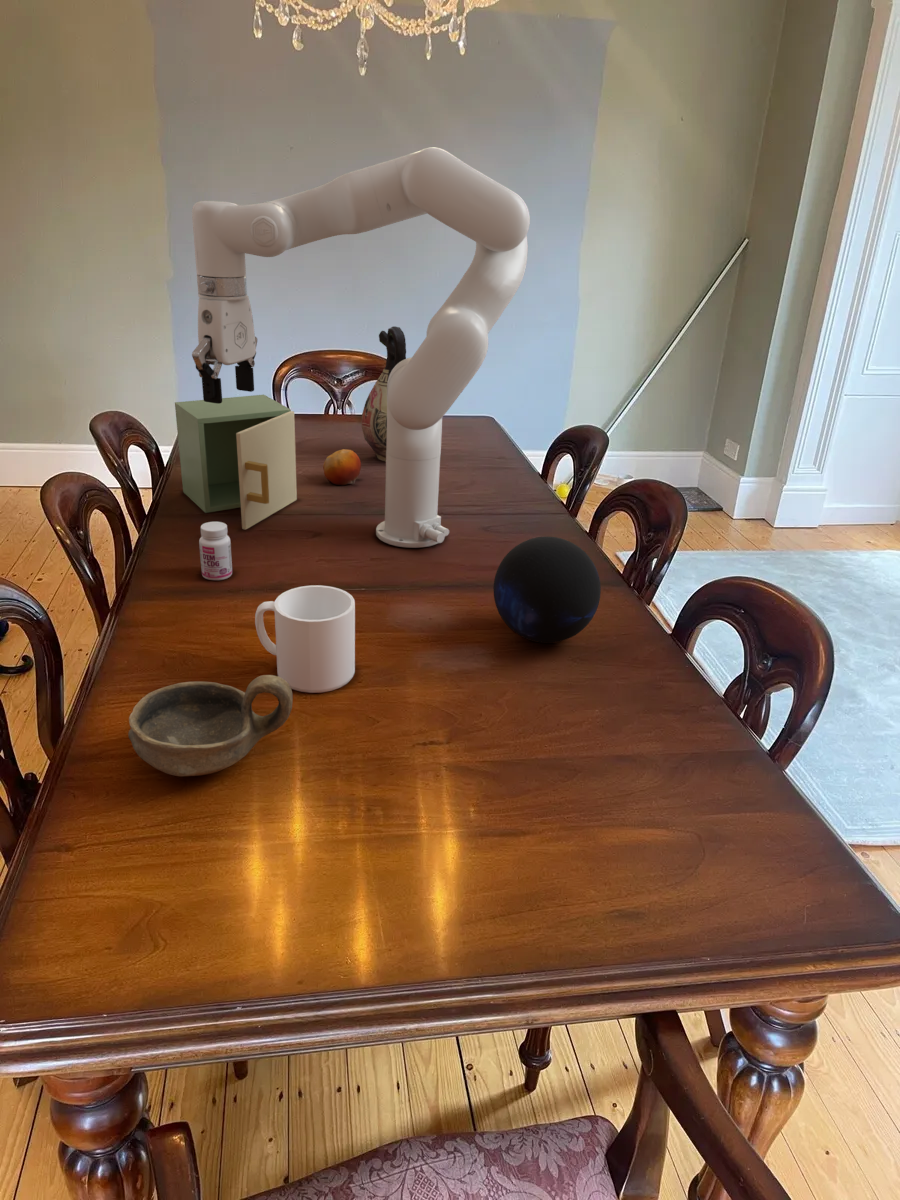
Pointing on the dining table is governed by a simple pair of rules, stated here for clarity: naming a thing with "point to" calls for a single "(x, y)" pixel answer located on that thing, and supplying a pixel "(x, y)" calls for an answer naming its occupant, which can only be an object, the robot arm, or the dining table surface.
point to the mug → (312, 637)
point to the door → (266, 468)
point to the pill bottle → (215, 551)
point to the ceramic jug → (382, 393)
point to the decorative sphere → (547, 589)
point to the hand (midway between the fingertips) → (229, 396)
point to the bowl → (204, 724)
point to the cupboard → (217, 446)
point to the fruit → (342, 467)
